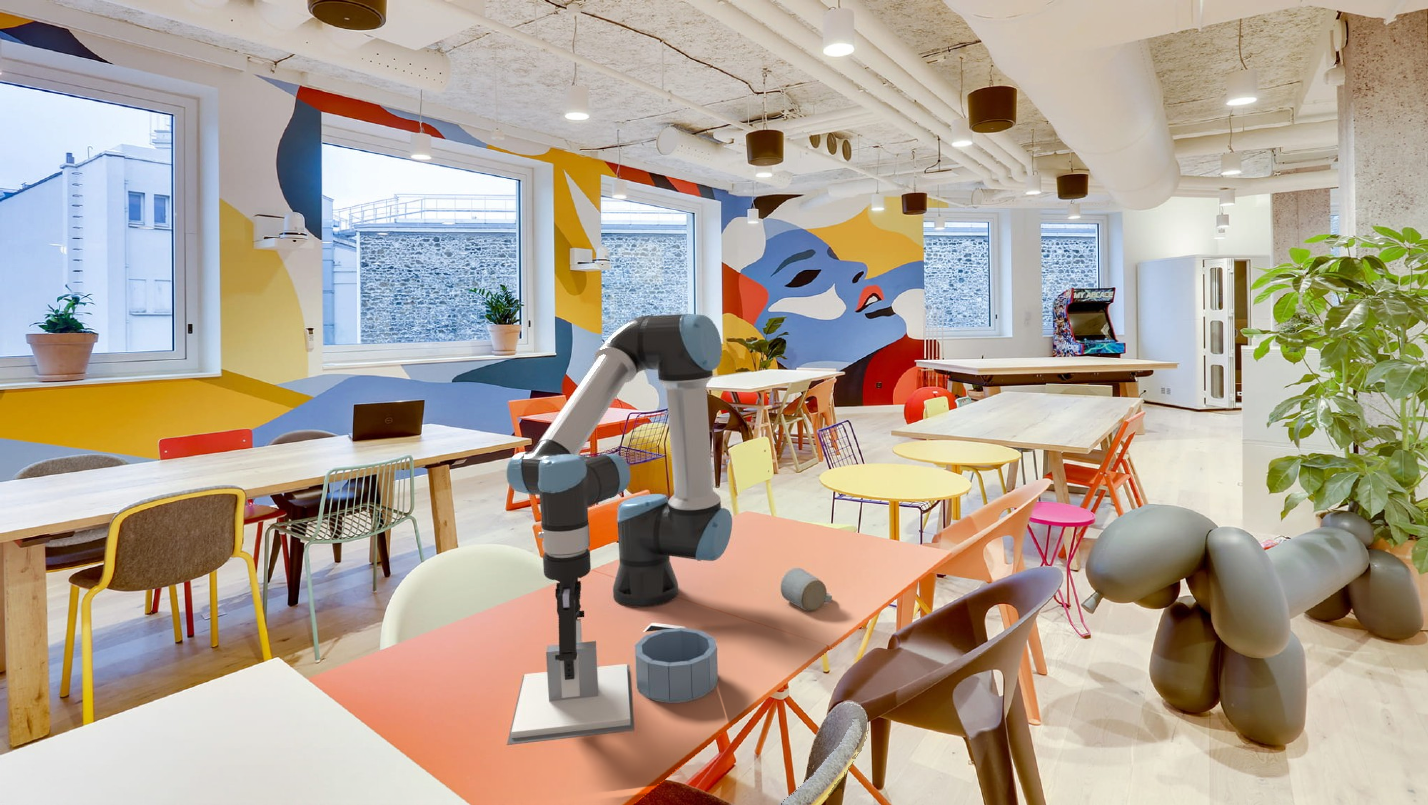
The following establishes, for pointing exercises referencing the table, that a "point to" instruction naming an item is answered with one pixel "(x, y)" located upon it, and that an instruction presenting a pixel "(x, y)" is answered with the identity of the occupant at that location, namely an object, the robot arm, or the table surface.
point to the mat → (575, 733)
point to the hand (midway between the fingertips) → (573, 675)
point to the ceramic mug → (804, 590)
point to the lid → (591, 710)
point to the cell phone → (661, 627)
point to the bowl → (676, 665)
